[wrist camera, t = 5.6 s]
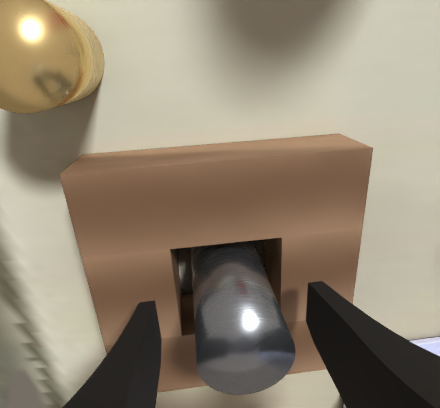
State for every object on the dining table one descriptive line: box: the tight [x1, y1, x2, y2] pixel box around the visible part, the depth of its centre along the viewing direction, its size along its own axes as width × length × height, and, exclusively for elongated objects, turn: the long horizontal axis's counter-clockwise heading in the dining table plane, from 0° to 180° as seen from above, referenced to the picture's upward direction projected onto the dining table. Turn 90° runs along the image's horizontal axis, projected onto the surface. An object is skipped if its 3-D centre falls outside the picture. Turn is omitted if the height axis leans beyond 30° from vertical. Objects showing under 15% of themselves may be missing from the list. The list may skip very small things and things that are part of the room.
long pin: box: [191, 241, 296, 395], centre depth 14 cm, size 3×3×7 cm
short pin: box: [0, 0, 104, 113], centre depth 11 cm, size 3×3×4 cm
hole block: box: [60, 134, 373, 392], centre depth 16 cm, size 12×12×3 cm
